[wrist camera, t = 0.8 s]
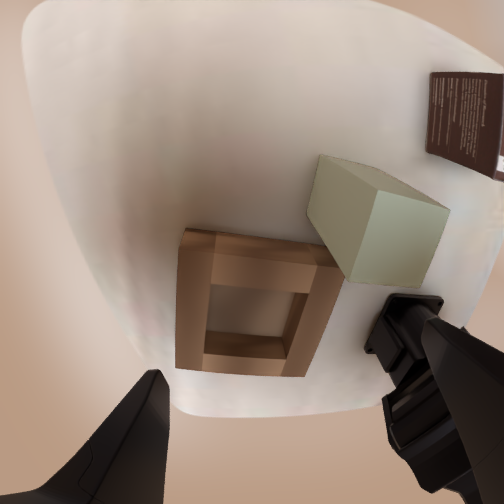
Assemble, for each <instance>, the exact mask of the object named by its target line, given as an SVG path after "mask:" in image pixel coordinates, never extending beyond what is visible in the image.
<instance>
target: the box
mask: <svg viewBox="0 0 504 504" xmlns="http://www.w3.org/2000/svg"><path fill="white" fill-rule="evenodd" d="M426 152H428V153H431V154H434V155H437V156H441V157H443V158H445V159H448V160H450V161H453V162H455V163H458V164H460V165H463V166H465V167H467V168H470V169H472V170H475V171H477V172H479V173H481V174H483V175H486V176H488V177H490V178H492V179H493V180H496V181H501V182H504V74H496V73H481V72H433V73H432V74H431V75H430V107H429V122H428V129H427V137H426Z"/></svg>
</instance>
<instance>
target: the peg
mask: <svg viewBox="0 0 504 504" xmlns="http://www.w3.org/2000/svg"><path fill="white" fill-rule="evenodd" d="M449 213H450V209H448V208H446V207H445V206H443V205H441V204H440V203H438V202H436V201H435V200H433V199H431V198H430V197H428V196H426V195H425V194H423V193H421V192H419V191H418V190H416V189H414V188H412V187H410V186H409V185H407V184H405V183H403V182H401V181H400V180H398V179H396V178H394V177H392V176H390V175H388V174H386V173H384V172H382V171H380V170H378V169H376V168H373V167H369V166H366V165H362V164H358V163H354V162H350V161H346V160H342V159H338V158H334V157H329V156H325V155H320V157H319V162H318V166H317V171H316V175H315V179H314V184H313V188H312V192H311V196H310V201H309V205H308V209H307V213H306V215H307V217H308V218H309V220H310V221H311V223H312V224H313V226H314V227H315V229H316V230H317V232H318V234H319V235H320V237H321V238H322V240H323V241H324V243H325V245H326V246H327V248H328V249H329V251H330V253H331V254H332V256H333V258H334V259H335V261H336V262H337V264H338V266H339V267H340V269H341V271H342V272H343V274H344V276H345V277H346V279H347V281H348V282H356V283H366V284H377V285H388V286H399V287H411V288H420V286H421V284H422V281H423V279H424V277H425V275H426V272H427V270H428V268H429V265H430V263H431V261H432V258H433V256H434V253H435V251H436V248H437V246H438V243H439V241H440V238H441V235H442V233H443V230H444V227H445V225H446V222H447V219H448V216H449Z"/></svg>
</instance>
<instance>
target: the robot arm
mask: <svg viewBox="0 0 504 504" xmlns="http://www.w3.org/2000/svg"><path fill="white" fill-rule="evenodd" d="M393 300H394V301H393ZM443 303H444V300H443V299H442V298H441V297H433V296H417V295H403V294H393V295H391V296H390V297H389V298H388V300H387V302H386V305H385V307H384V309H383V311H382V313H381V315H380V317H379V319H378V321H377V324H376V326H375V328H374V330H373V332H372V334H371V335H370V337H369V339H368V341H367V343H366V345H365V347H364V350H365V353H366V354H376V355H377V357H378V359H379V361H380V363H381V365H382V367H383V369H384V371H385V372H386V373H389V375H390V377H391V379H392V381H393V383H394V385H395V387H396V389H395V390H394V391H392V392H391V393H390V394H387V395H385V396H384V397H383V398H382V404H383V410H384V416H385V422H386V428H387V434H388V441H389V443H390V445H391V447H392V449H394V450H395V452H396V453H397V454H398V455H399V456H400V457H401V458H402V459H404V460H405V461H406V462H407V463H408V465H409V466H410V468H411V469H412V471H413V473H414V475H415V477H416V479H417V481H418V483H419V485H420V487H421V488H422V489H424V490H426V491H427V492H429V493H435V492H436V491H438V490H440V489H442V488H444V489H447V490H450V491H454V492H457V493H459V494H460V496H461V497H462V498H463V501H464V502H465V504H504V353H503V352H501V351H499V350H498V349H496V348H494V347H492V346H490V345H488V344H486V343H485V342H483V341H481V340H479V339H477V338H475V337H474V336H472V335H470V333H469V332H468V331H467V330H466V329H465V328H464V326H463V327H462V328H461V329H459V328H457V327H455V326H453V325H451V324H449V323H447V322H445V321H444V320H442V319H440V318H439V316H438V313H439V311H440V309H441V307H442V305H443ZM169 416H170V389H169V385H168V383H167V381H166V379H165V378H164V376H163V374H162V372H161V371H160V370H159V369H154V370H148V371H146V373H145V374H144V375H143V376H142V377H141V378H140V379H139V381H138V382H137V383H136V384H135V385H134V386H133V388H132V389H131V390H130V391H129V392H128V394H127V395H126V396H125V397H124V398H123V399H122V401H121V402H120V403H119V404H118V405H117V407H115V409H114V410H113V411H112V412H111V414H110V415H109V416H108V417H107V418H106V419H105V420H104V422H103V423H102V424H101V425H100V426H99V428H98V429H97V430H96V431H95V432H94V433H93V434H92V436H91V437H90V438H89V440H87V441H86V443H85V444H84V445H83V446H82V447H81V448H80V449H79V451H78V452H77V453H76V454H75V455H74V456H73V457H72V458H71V459H70V460H69V461H68V462H67V463H66V464H65V465H64V466H63V467H62V468H61V469H60V470H59V471H58V472H57V473H56V474H54V476H52V477H51V478H50V479H49V480H48V481H47V482H46V483H45V484H43V485H42V486H41V487H39V488H37V489H34V490H31V491H27V492H21V493H15V494H8V495H1V496H0V504H163V498H164V484H165V472H166V461H167V450H168V440H169V430H170V417H169Z"/></svg>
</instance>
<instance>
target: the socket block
mask: <svg viewBox="0 0 504 504" xmlns="http://www.w3.org/2000/svg"><path fill="white" fill-rule="evenodd" d="M344 278H345V276H344V274H343V272H342V271H341V269H340V267H339V266H338V264H337V262H336V261H335V259H334V258H333V256H332V254H331V253H330V251H329V249H328V248H327V246H321V245H314V244H307V243H299V242H292V241H285V240H277V239H269V238H262V237H254V236H246V235H238V234H231V233H223V232H215V231H207V230H198V229H190V228H186V229H185V232H184V235H183V238H182V241H181V244H180V247H179V252H178V270H177V293H176V331H175V368H179V369H187V370H195V371H205V372H215V373H226V374H240V375H256V376H282V377H305V374H306V372H307V370H308V368H309V365H310V363H311V361H312V359H313V356H314V354H315V352H316V349H317V347H318V345H319V342H320V340H321V338H322V335H323V333H324V330H325V328H326V325H327V323H328V320H329V318H330V315H331V313H332V310H333V308H334V305H335V302H336V300H337V297H338V294H339V292H340V289H341V286H342V284H343V281H344Z"/></svg>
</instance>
